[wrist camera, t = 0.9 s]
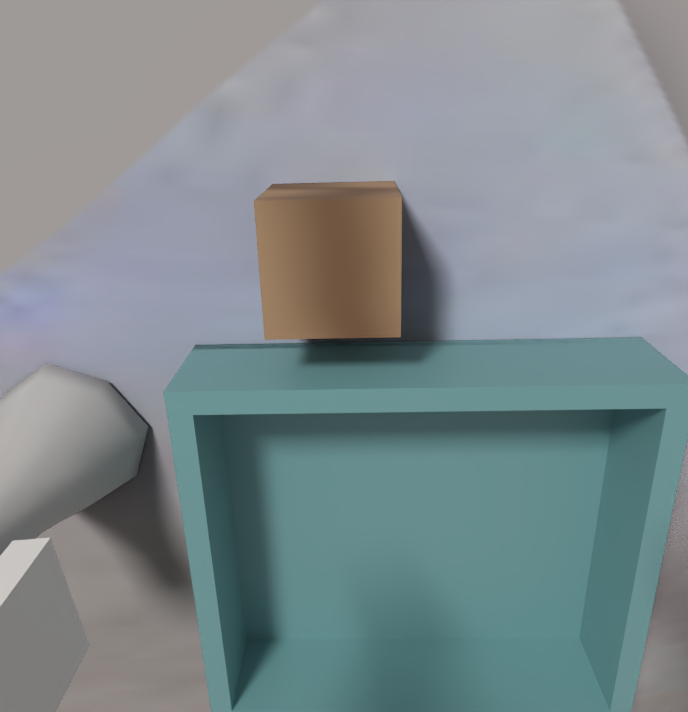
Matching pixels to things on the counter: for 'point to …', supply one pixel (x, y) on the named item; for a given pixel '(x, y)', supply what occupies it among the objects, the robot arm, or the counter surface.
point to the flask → (62, 449)
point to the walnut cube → (330, 260)
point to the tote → (426, 520)
